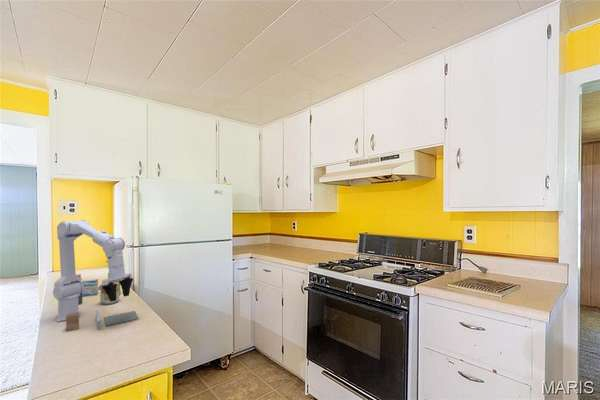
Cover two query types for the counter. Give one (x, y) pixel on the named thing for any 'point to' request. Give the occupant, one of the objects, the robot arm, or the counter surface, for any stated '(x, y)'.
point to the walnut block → (72, 321)
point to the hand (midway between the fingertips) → (119, 298)
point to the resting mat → (120, 318)
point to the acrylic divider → (98, 320)
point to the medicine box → (90, 287)
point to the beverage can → (105, 297)
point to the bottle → (80, 294)
